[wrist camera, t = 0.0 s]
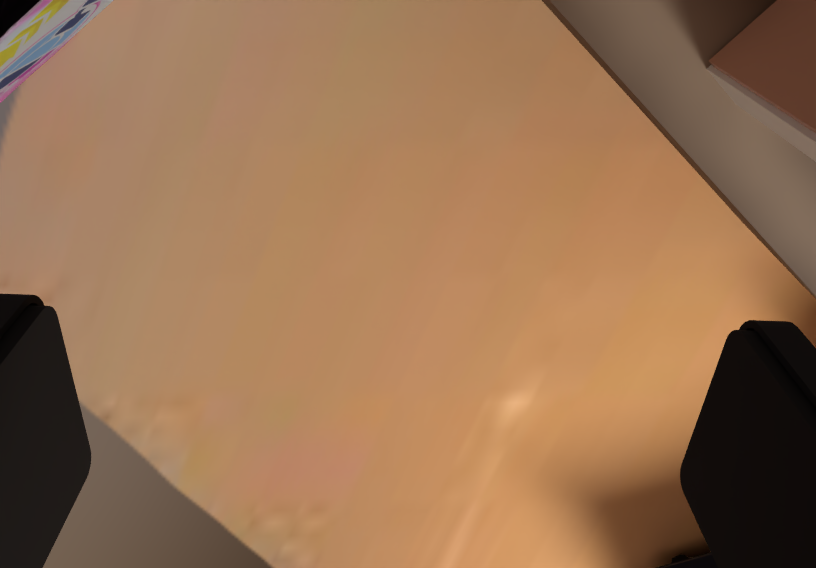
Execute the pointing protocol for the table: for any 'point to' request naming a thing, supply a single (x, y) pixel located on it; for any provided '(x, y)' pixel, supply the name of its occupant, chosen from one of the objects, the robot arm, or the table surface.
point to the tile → (775, 71)
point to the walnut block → (705, 110)
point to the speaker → (692, 562)
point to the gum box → (37, 34)
